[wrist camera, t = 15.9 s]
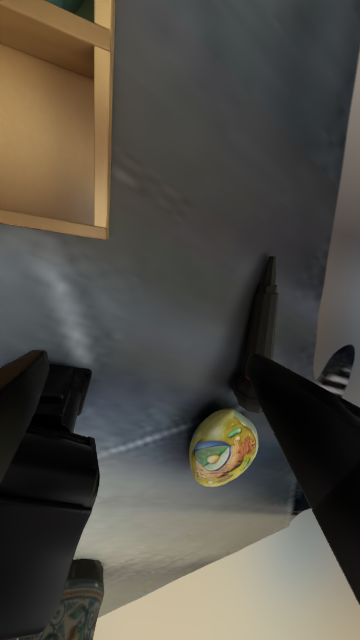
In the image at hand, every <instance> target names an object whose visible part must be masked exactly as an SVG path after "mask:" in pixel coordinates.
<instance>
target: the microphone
mask: <svg viewBox="0 0 360 640" xmlns="http://www.w3.org/2000/svg"><path fill="white" fill-rule="evenodd" d="M275 278H276V263H275V257H274V256H270V257H269V259H268V262H267V266H266V269H265V273H264V277H263V282H262V284H261V285H259V292H257V294H256V299H255V305H254V310H253V316H252V322H251V327H250V333H249V338H248V344H247V349H246V355H245V361H244V366H243V373H244V374H242V375H241V376H240V377H237V379H236V380H235V381H234V382H233V385H232V388H233V391H234V394H235V396H236V397H237V400H238V403H239V405H240V406H242V407H243V408H244V409H246V410H247V411H251V412H255V413H261V412H263V410H262V408H261V406H260V404H259V402H258V400H257V398H256V396H255V393H254V390H253V388H252V385H251V383H250V380H249V377H248V375H247V372H246V365H247V362H248V360H249V357H250V355H251V354H253V353H258V354H262V355H263V356H265V357H267V358H269V359H271V360H272V358H273V347H274V336H275V325H276V313H277V302H278V293H276V290H277V285H275Z"/></svg>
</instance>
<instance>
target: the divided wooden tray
mask: <svg viewBox="0 0 360 640" xmlns="http://www.w3.org/2000/svg"><path fill="white" fill-rule="evenodd" d="M114 29H115V0H83V1H82V3H81V4H80V6H79V7H78V9H77V10H76V11H75V12H74V13H71V12H69V11H66V10H64V9H62V8H60V7H58V6H56V5H54V4H51V3H49V2H47V1H45V0H0V223H2V224H8V225H15V226H21V227H27V228H33V229H40V230H46V231H52V232H58V233H65V234H71V235H77V236H83V237H90V238H96V239H102V240H106V239H108V238H109V214H110V177H111V140H112V103H113V66H114Z"/></svg>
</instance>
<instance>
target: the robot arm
mask: <svg viewBox="0 0 360 640" xmlns="http://www.w3.org/2000/svg"><path fill="white" fill-rule="evenodd" d="M246 372H247V375H248V377H249V380H250V383H251V385H252V388H253V390H254V393H255V396H256V398H257V400H258V402H259V404H260V406H261V408H262V410H263V412H264V414H265V416H266V418H267V420H268V422H269V425H270V427H271V429H272V431H273V433H274V435H275V437H276V439H277V441H278V443H279V445H280V447H281V449H282V451H283V453H284V455H285V457H286V459H287V461H288V463H289V465H290V467H291V469H292V471H293V473H294V475H295V477H296V479H297V481H298V483H299V485H300V487H301V489H302V491H303V493H304V495H305V497H306V499H307V501H308V503H309V505H310V507H311V509H312V511H313V513H314V515H315V517H316V519H317V521H318V523H319V525H320V527H321V529H322V531H323V533H324V535H325V537H326V539H327V541H328V543H329V545H330V547H331V550H332V552H333V554H334V556H335V558H336V560H337V562H338V563H339V566H340V567H341V570H342V572H343V573H344V576H345V578H346V580H347V582H348V584H349V585H350V588H351V590H352V592H353V594H354V596H355V598H356V600H357V601H358V603H359V605H360V408H359V407H358V406H356V405H354V404H352V403H350V402H348V401H346V400H344V399H343V398H341V397H339V396H336V395H335V394H333V393H331V392H330V391H328V390H326V389H324V388H322V387H320V386H319V385H317V384H315V383H313V382H311V381H309V380H308V379H306V378H304V377H302V376H300V375H298V374H296V373H295V372H293V371H291V370H289V369H287V368H285V367H284V366H282V365H280V364H278V363H276V362H274V361H273V360H271V359H269V358H267V357H265V356H263V355H262V354H258V353H253V354H251V355H250V357H249V360H248V362H247V365H246ZM85 373H88V375H86V374H85ZM91 375H92V371H91V370H89V369H83V368H75V367H69V366H61V365H53V364H49V362H48V356H47V352H46V351H45V350H32V351H30V352H29V353H27V354H25V355H23V356H21V357H19V358H18V359H16V360H14V361H12V362H10V363H8V364H6V365H5V366H3V367H1V368H0V640H18V639H20V638H25V637H30V636H36V635H40V634H42V633H43V631H44V630H45V629H46V627H47V625H48V623H49V622H50V620H51V618H52V616H53V614H54V613H55V611H56V609H57V607H58V605H59V604H60V602H61V599H62V596H63V593H64V589H65V585H66V582H67V578H68V575H69V571H70V567H71V564H72V560H73V557H74V554H75V550H76V548H77V545H78V542H79V540H80V537H81V534H82V531H83V529H84V527H85V525H86V523H87V521H88V519H89V516H90V514H91V511H92V508H93V505H94V502H95V499H96V496H97V492H98V487H99V480H100V474H99V466H98V459H97V452H96V445H95V439H94V438H92V437H84V436H81V435H78V434H74V433H73V431H74V426H75V422H76V418H77V416H78V415H80V414H81V411H82V407H83V404H84V400H85V397H86V393H87V389H88V386H89V382H90V379H91Z"/></svg>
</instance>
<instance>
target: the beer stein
mask: <svg viewBox="0 0 360 640" xmlns="http://www.w3.org/2000/svg"><path fill="white" fill-rule="evenodd" d="M103 596H104V584H103V567H102V565H101V563H100V561H95V560H87V559H80V560H74V561H72V564H71V567H70V571H69V575H68V578H67V582H66V585H65V589H64V593H63V596H62V599H61V602H60V604H59V605H58V607H57V609H56V611H55V613H54V614H53V616H52V618H51V620H50V622H49V623H48V625H47V627H46V629H45V630H44V631H43V633H42V634H40V635H36V636H30V637H25V638H20V639H18V640H93V635H94V631H95V626H96V621H97V617H98V613H99V610H100V606H101V603H102V600H103Z"/></svg>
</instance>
